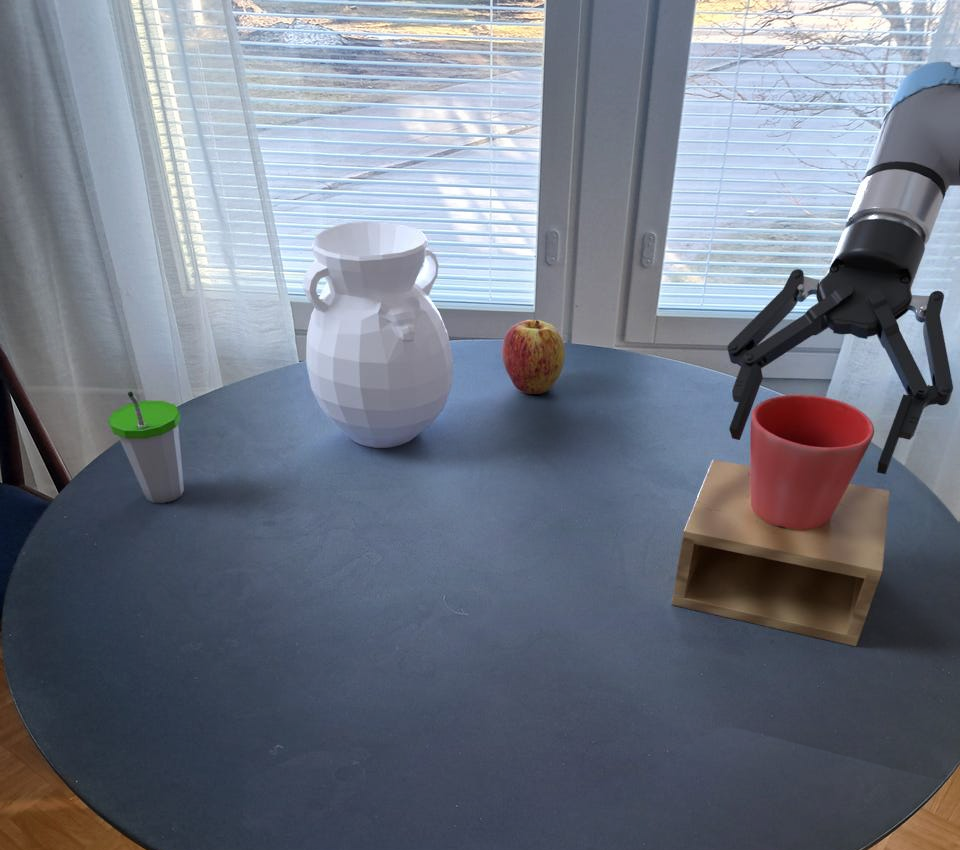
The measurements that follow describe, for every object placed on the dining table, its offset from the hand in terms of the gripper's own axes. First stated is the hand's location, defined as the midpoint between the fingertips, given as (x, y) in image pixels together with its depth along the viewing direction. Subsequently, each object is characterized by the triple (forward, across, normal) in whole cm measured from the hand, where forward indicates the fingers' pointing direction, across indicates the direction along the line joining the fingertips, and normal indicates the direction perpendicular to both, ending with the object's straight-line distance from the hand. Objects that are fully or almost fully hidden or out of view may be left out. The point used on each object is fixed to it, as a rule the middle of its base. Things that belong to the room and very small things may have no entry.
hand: (805, 451), depth 84 cm
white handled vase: (+5, +55, -17) cm, 58 cm away
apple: (-10, +44, -33) cm, 56 cm away
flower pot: (+4, 0, -6) cm, 7 cm away
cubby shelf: (+11, 0, -12) cm, 16 cm away
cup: (+24, +69, +1) cm, 73 cm away
